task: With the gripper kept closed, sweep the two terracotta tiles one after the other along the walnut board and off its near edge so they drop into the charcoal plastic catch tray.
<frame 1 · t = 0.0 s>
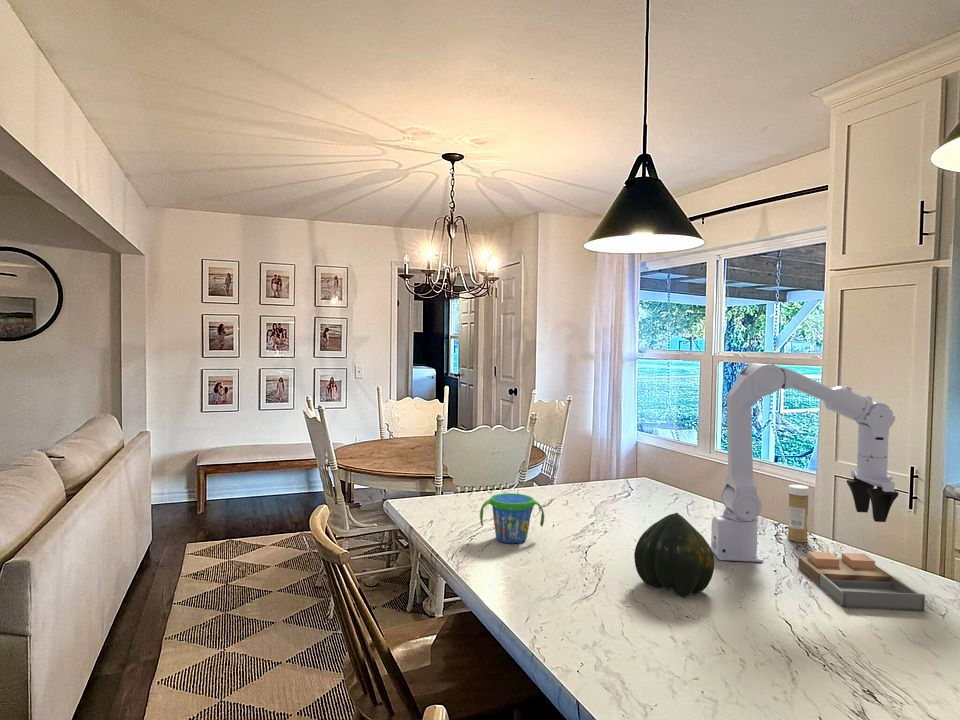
hand: (870, 516, 140), 10 cm above the kitchen island, tool pointing down, fingers open, 7 cm apart
catch tray: (869, 598, 120), on the kitchen island
snack cup: (511, 540, 154), on the kitchen island
tile left: (822, 562, 133), point 2 cm above the kitchen island, touching walnut board
walnut board: (843, 577, 131), on the kitchen island
squash: (672, 588, 124), on the kitchen island
sprinkles bottle: (797, 540, 156), on the kitchen island
tile right: (857, 564, 132), point 2 cm above the kitchen island, touching walnut board
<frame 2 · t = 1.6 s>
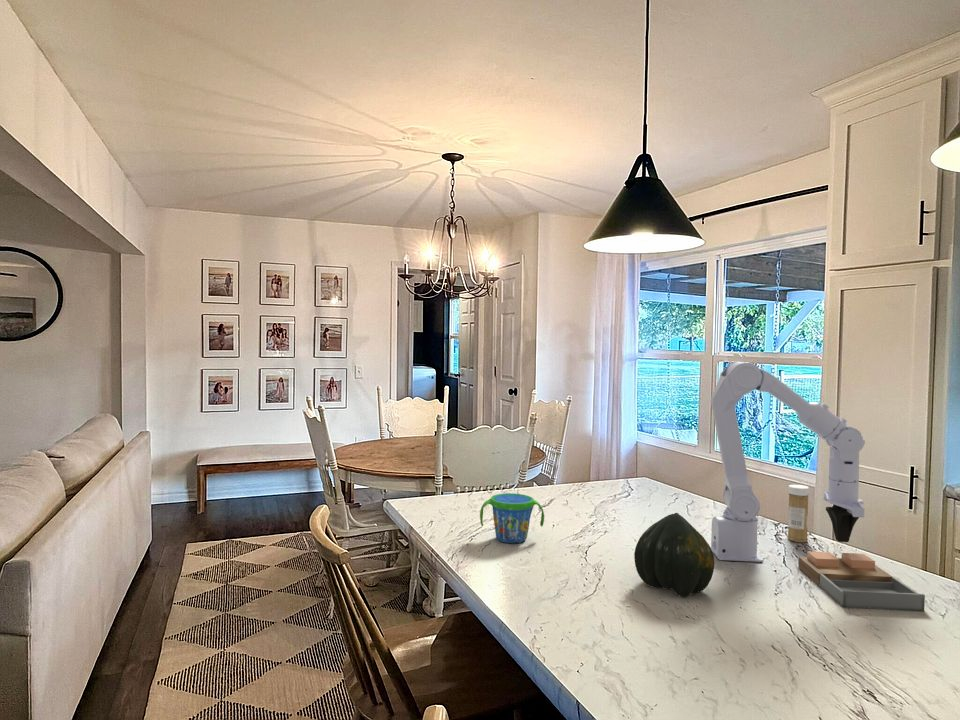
hand: (842, 541, 139), 5 cm above the kitchen island, tool pointing down, fingers closed
nothing on the kitchen island moved.
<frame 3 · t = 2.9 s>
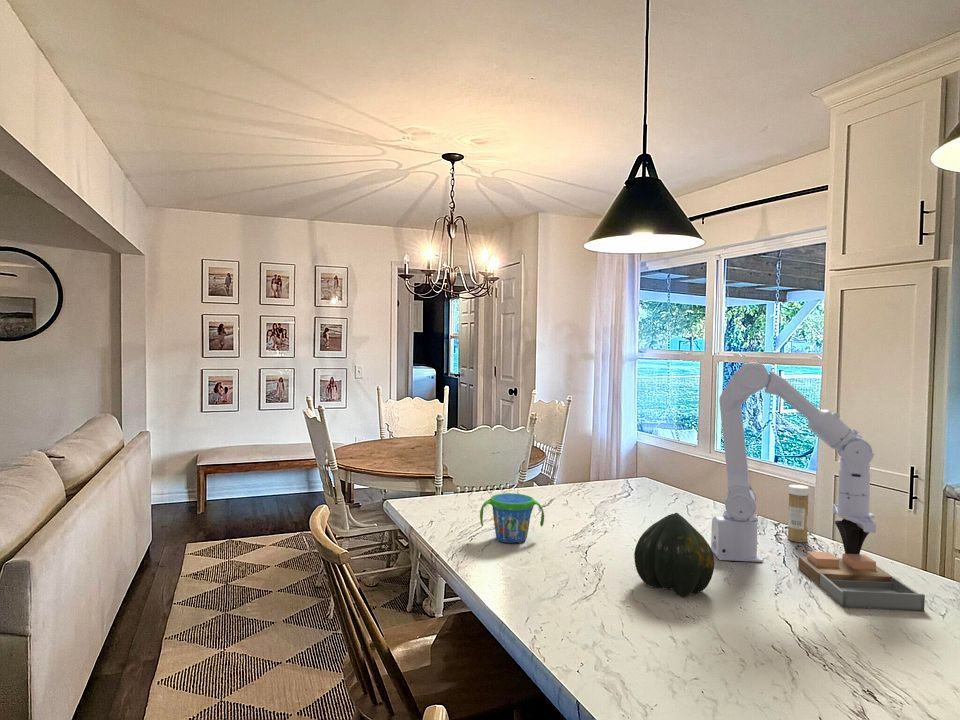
hand: (851, 556, 134), 3 cm above the kitchen island, tool pointing down, fingers closed
tile right: (858, 565, 132), point 2 cm above the kitchen island, touching gripper, walnut board
everything else where it was.
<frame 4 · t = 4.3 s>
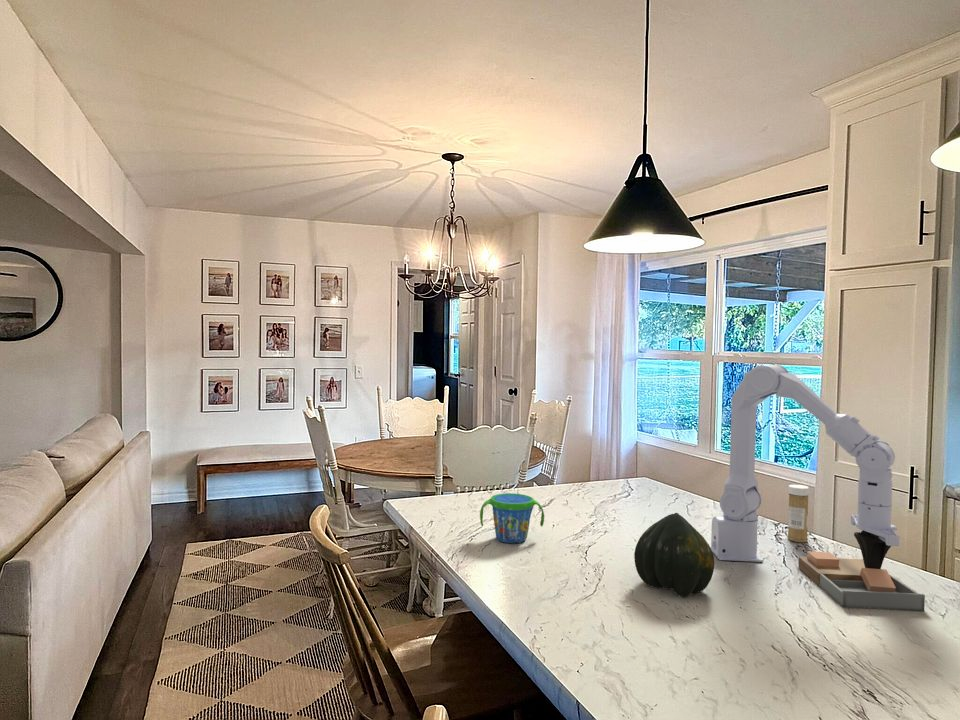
hand: (872, 570, 126), 3 cm above the kitchen island, tool pointing down, fingers closed
tile right: (876, 583, 124), point 2 cm above the kitchen island, tilted 28°, touching catch tray, gripper, walnut board
everything else where it was.
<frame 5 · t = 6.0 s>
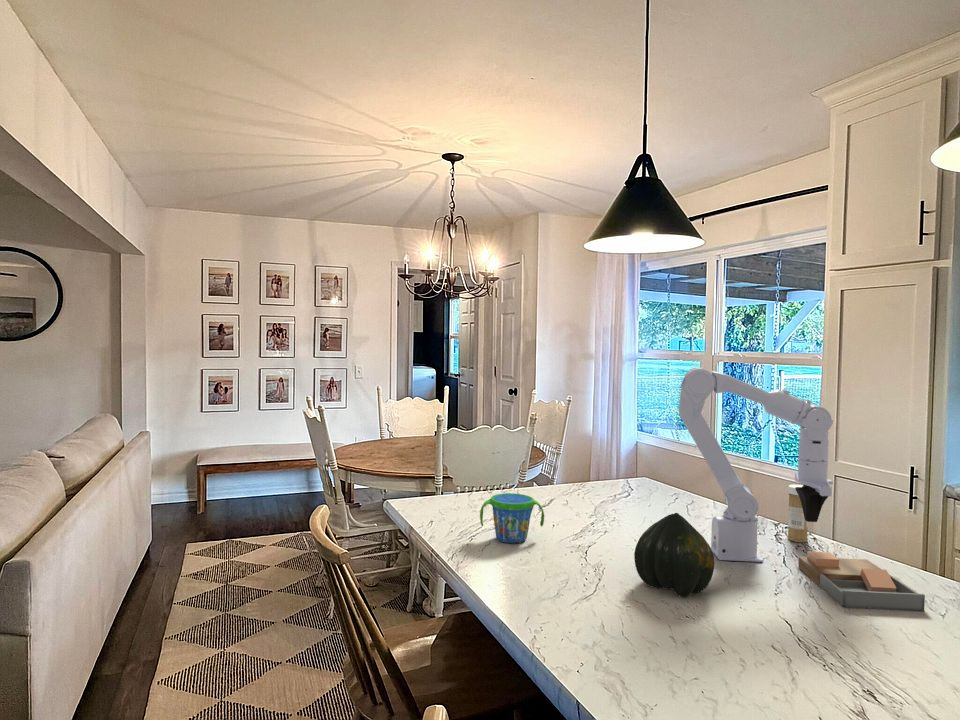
hand: (810, 521, 139), 9 cm above the kitchen island, tool pointing down, fingers closed
tile right: (876, 583, 124), point 1 cm above the kitchen island, tilted 28°, touching catch tray, walnut board
everything else where it was.
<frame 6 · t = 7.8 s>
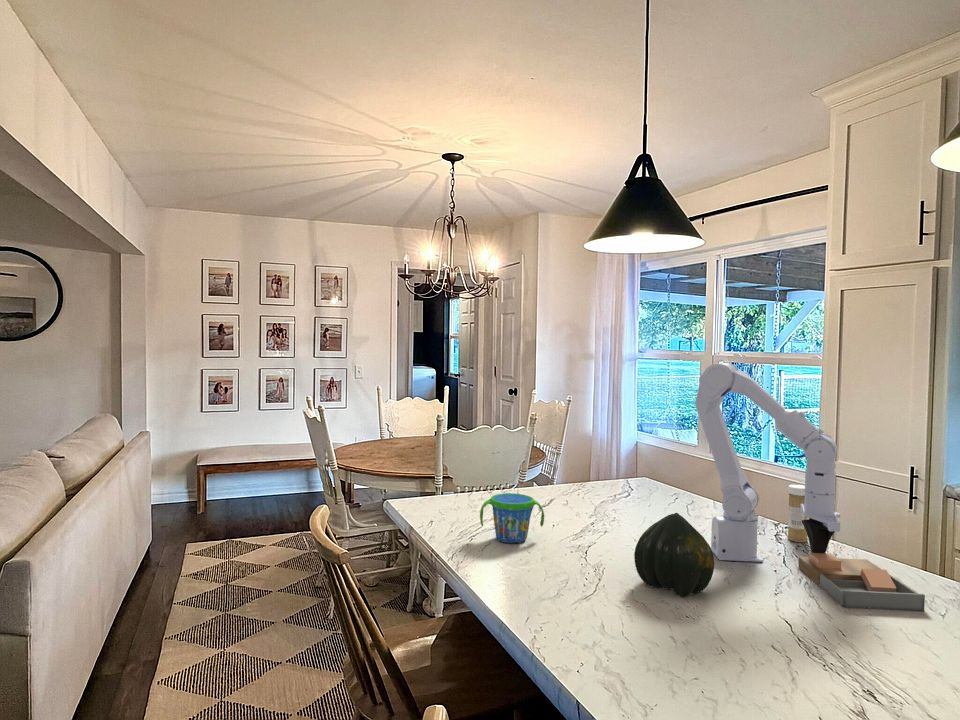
hand: (818, 555, 135), 3 cm above the kitchen island, tool pointing down, fingers closed
tile left: (824, 564, 132), point 2 cm above the kitchen island, touching gripper, walnut board
everything else where it was.
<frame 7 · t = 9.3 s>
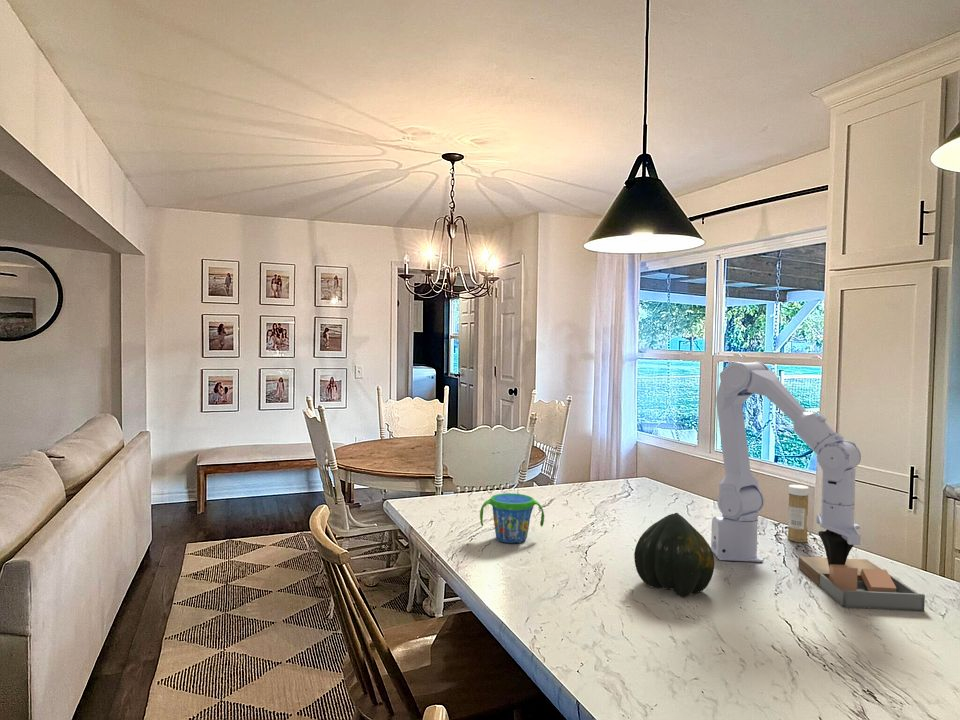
hand: (836, 569, 127), 3 cm above the kitchen island, tool pointing down, fingers closed
tile left: (841, 576, 124), point 3 cm above the kitchen island, tilted 91°, touching catch tray
everything else where it was.
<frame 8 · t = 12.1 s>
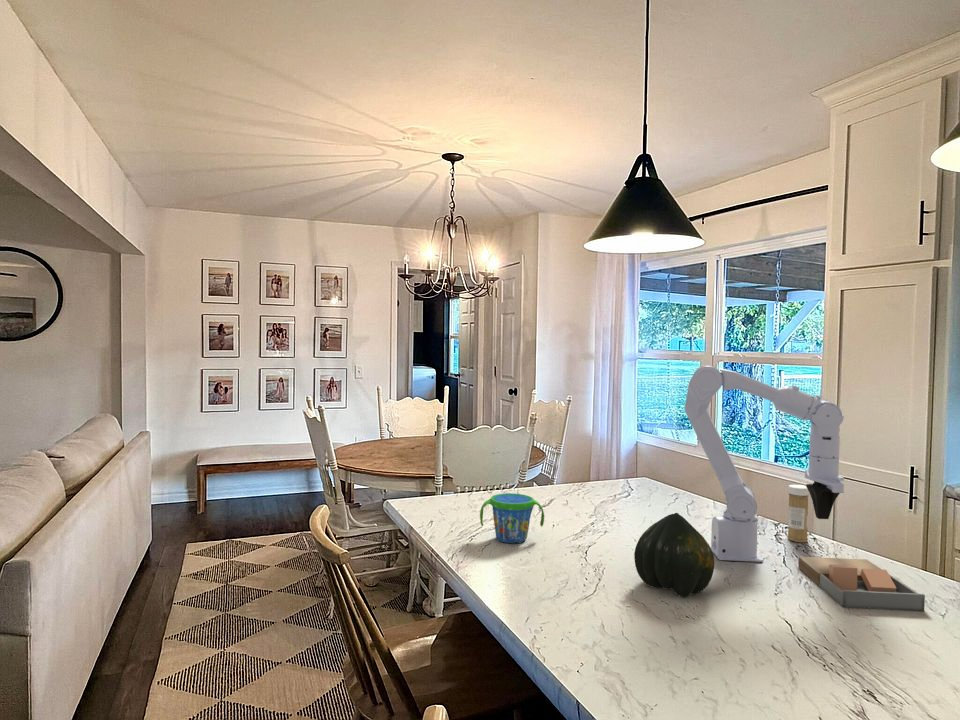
hand: (822, 518, 138), 10 cm above the kitchen island, tool pointing down, fingers closed
nothing on the kitchen island moved.
at the end: tile right inside the target area on the catch tray (4.9 cm from its centre), point 1.5 cm above the catch tray's base; tile left inside the target area on the catch tray (5.2 cm from its centre), point 2.6 cm above the catch tray's base; tile left touching catch tray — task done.
